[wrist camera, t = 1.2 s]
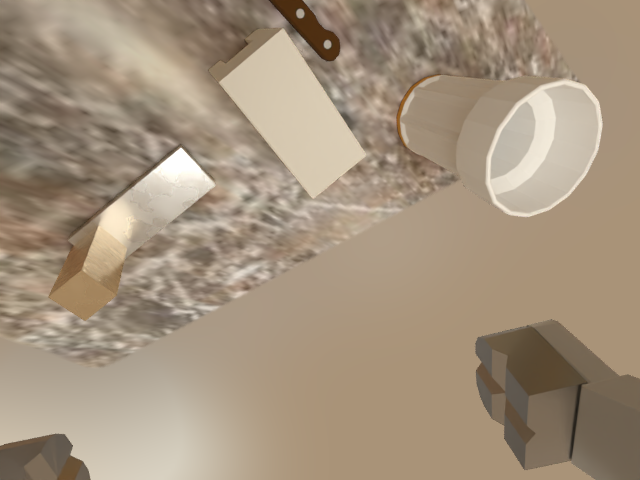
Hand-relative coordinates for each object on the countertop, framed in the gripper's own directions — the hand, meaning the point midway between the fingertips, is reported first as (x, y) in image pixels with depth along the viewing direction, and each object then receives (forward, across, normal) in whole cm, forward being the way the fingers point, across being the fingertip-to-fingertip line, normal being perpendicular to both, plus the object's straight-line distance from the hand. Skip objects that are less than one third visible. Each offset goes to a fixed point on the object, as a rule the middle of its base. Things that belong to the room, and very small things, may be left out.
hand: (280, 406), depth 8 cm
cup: (+42, -19, +3) cm, 46 cm away
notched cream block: (+38, -1, -2) cm, 38 cm away
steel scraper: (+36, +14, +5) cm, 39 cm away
